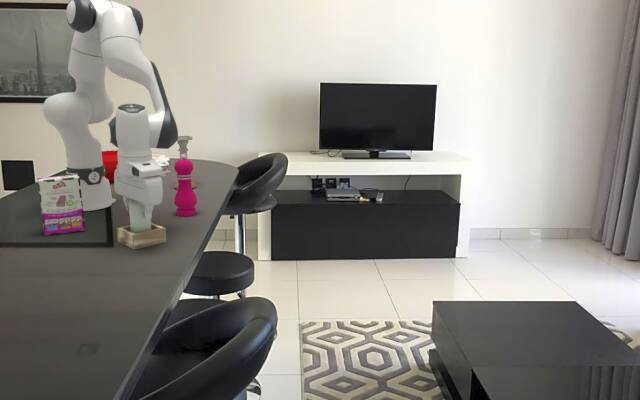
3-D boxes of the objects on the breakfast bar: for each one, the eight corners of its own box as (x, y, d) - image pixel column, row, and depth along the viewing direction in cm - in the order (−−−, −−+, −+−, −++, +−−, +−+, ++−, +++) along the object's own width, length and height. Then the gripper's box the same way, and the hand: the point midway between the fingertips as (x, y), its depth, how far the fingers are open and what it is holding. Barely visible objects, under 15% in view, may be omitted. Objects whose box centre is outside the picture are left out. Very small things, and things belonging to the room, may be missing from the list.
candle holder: (201, 186, 222) (198, 136, 217) (185, 191, 214) (182, 139, 209) (185, 184, 226) (182, 135, 221) (169, 188, 219) (166, 137, 214)
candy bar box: (84, 226, 167) (79, 173, 163) (85, 231, 163) (80, 177, 159) (43, 231, 162) (36, 177, 158) (43, 236, 158) (37, 180, 154)
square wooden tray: (117, 241, 154) (116, 228, 153) (148, 234, 160) (147, 221, 159) (135, 249, 147) (134, 235, 146) (166, 241, 154) (165, 228, 153)
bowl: (162, 175, 244) (160, 152, 242) (111, 188, 217) (109, 163, 215) (110, 169, 256) (108, 148, 254) (55, 181, 229) (52, 158, 227)
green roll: (127, 238, 153) (125, 203, 151) (145, 234, 157) (143, 200, 155) (137, 242, 150) (135, 207, 147) (155, 238, 154) (153, 203, 151)
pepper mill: (192, 217, 178) (188, 156, 173) (171, 216, 179) (167, 155, 174) (201, 211, 185) (198, 152, 180) (181, 210, 186) (177, 152, 181)
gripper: (106, 161, 153) (110, 209, 157) (144, 172, 140) (147, 224, 143) (127, 159, 158) (130, 205, 161) (166, 169, 144) (168, 220, 147)
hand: (139, 214), depth 152 cm, fingers open, 8 cm apart
